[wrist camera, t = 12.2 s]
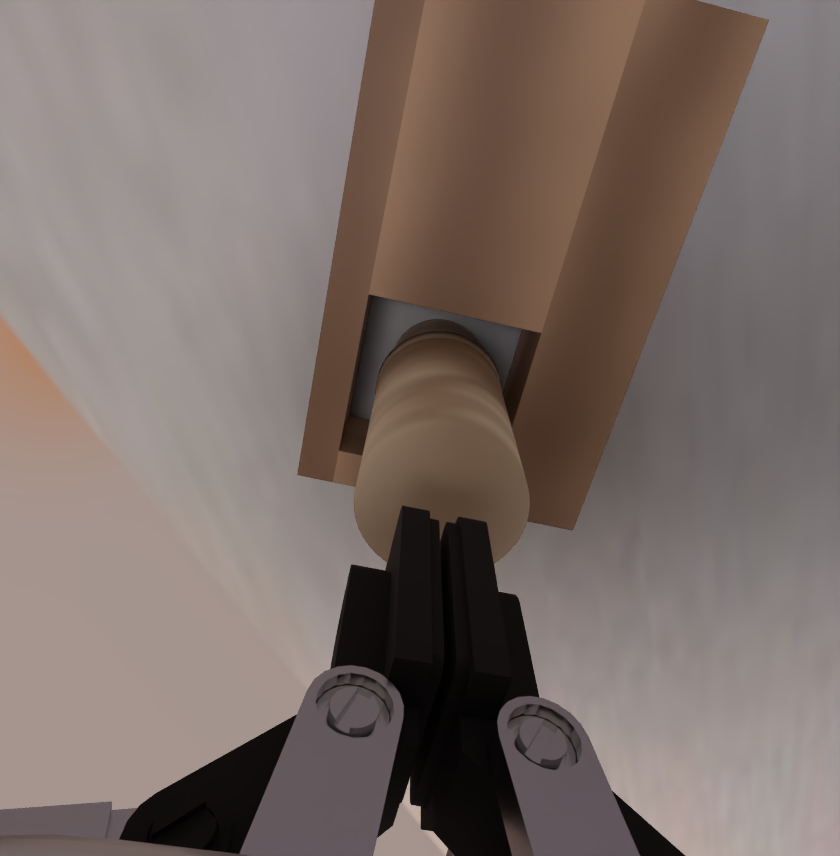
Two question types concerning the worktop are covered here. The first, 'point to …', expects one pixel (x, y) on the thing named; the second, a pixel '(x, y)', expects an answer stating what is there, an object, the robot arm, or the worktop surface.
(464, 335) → the peg
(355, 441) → the board
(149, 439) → the worktop surface
